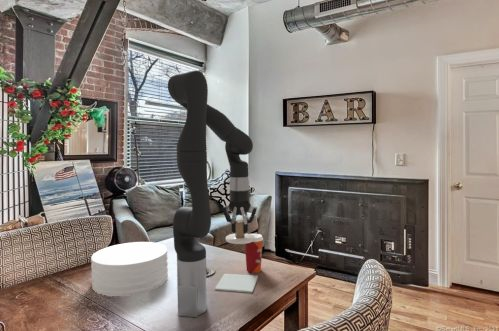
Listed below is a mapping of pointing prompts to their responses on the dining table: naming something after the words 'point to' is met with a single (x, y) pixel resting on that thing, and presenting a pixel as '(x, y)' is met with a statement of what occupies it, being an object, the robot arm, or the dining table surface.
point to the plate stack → (129, 268)
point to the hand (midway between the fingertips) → (240, 232)
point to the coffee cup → (254, 254)
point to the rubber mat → (237, 283)
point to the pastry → (210, 270)
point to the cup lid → (239, 235)
